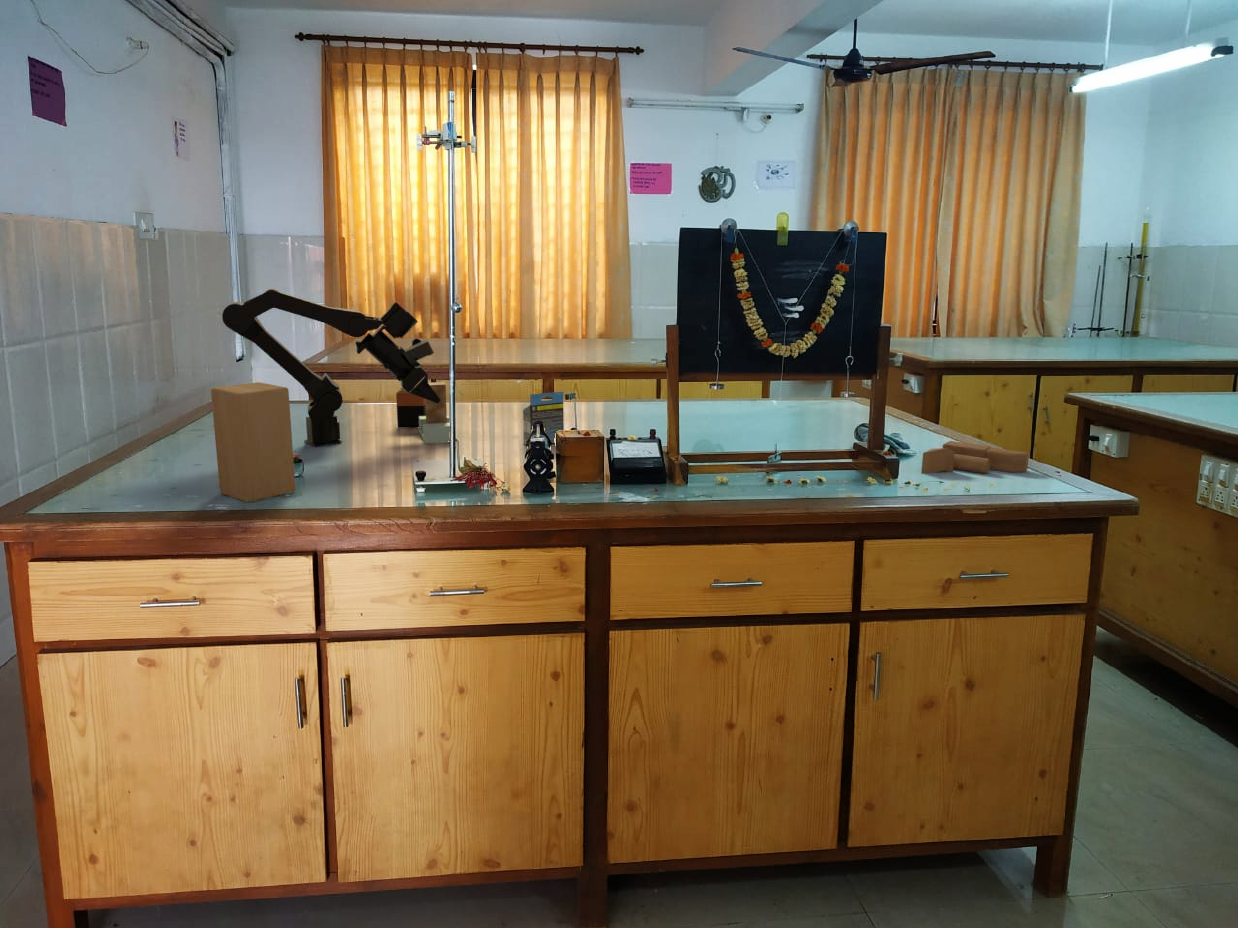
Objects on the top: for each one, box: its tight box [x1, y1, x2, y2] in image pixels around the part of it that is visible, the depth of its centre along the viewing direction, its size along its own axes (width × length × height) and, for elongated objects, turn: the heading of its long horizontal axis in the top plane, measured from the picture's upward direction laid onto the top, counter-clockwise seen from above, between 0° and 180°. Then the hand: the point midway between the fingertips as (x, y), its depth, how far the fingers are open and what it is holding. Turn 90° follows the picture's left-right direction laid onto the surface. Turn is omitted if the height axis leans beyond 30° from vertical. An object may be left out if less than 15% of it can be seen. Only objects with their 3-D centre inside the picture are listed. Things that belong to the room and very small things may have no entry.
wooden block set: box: [920, 440, 1030, 475], centre depth 200 cm, size 17×6×18 cm
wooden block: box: [210, 381, 296, 503], centre depth 175 cm, size 10×10×20 cm
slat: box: [425, 381, 448, 424], centre depth 227 cm, size 4×4×12 cm
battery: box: [395, 387, 426, 428], centre depth 240 cm, size 4×7×10 cm, turn 94°
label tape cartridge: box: [522, 391, 565, 445], centre depth 221 cm, size 9×4×12 cm, turn 123°
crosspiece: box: [418, 414, 451, 445], centre depth 228 cm, size 14×7×4 cm, turn 17°
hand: (436, 398), depth 226 cm, fingers open, 9 cm apart
